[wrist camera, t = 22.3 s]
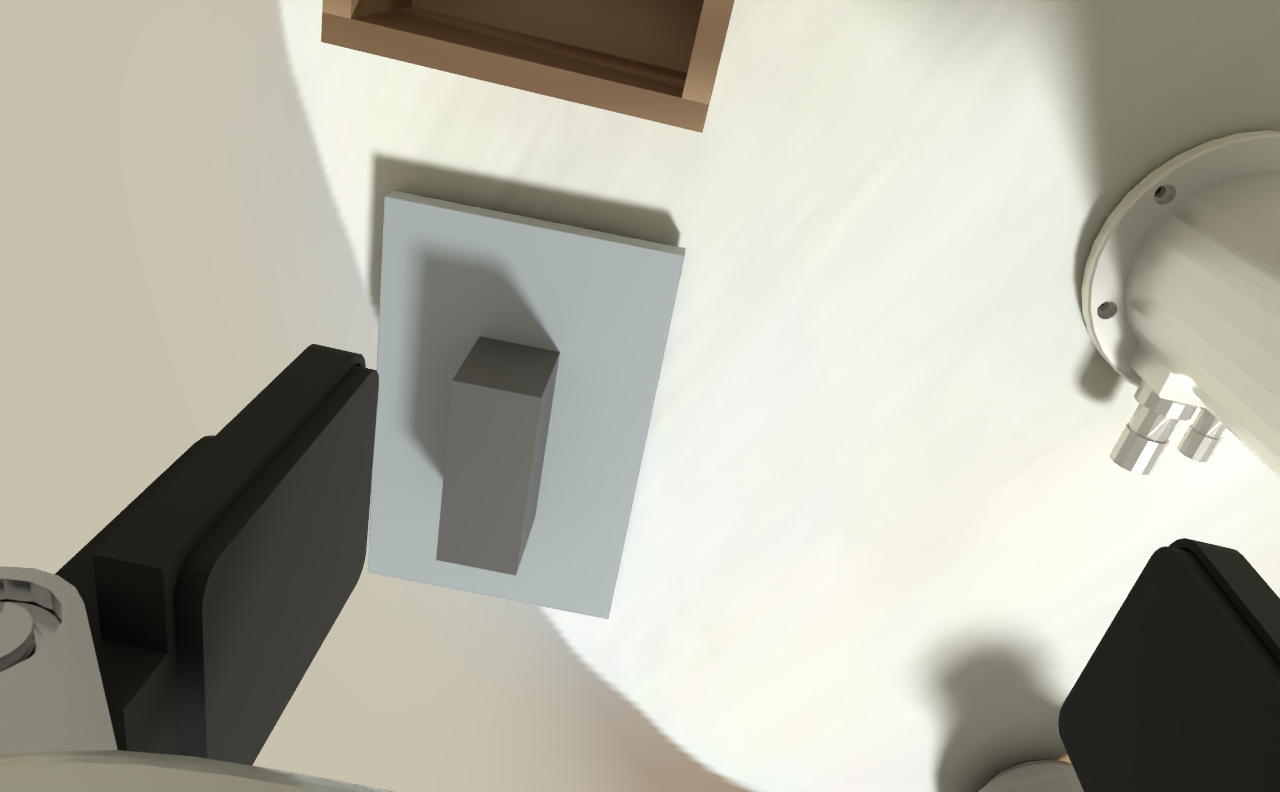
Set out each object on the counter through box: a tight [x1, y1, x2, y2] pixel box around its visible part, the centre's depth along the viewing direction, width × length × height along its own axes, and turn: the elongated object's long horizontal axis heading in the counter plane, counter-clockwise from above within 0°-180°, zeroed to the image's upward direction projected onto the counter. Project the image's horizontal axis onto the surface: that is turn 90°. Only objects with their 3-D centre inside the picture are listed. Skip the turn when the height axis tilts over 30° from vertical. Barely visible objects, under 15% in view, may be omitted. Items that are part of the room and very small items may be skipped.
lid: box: [368, 190, 685, 619], centre depth 44 cm, size 22×14×7 cm, turn 170°
